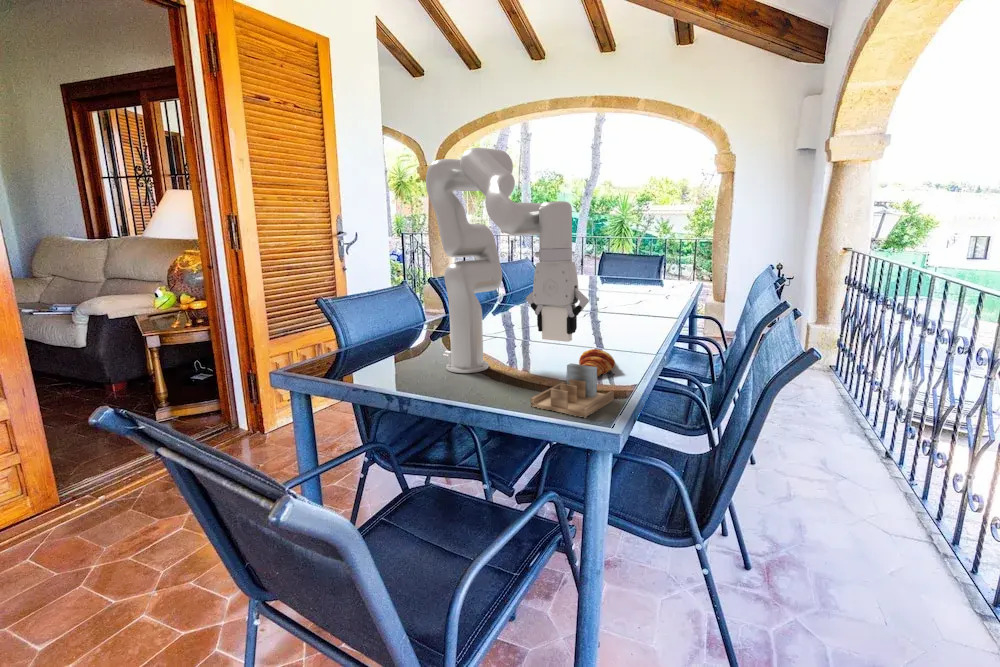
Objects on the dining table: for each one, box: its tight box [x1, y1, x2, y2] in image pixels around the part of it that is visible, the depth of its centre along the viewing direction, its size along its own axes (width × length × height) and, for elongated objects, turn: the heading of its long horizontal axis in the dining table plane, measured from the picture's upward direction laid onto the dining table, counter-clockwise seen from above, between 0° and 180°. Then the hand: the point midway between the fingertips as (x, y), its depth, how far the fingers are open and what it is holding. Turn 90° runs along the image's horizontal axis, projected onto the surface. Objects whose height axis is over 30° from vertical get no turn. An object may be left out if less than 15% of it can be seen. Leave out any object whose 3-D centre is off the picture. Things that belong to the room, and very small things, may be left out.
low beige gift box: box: [541, 306, 573, 343], centre depth 124 cm, size 7×2×8 cm, turn 56°
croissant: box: [578, 348, 616, 377], centre depth 151 cm, size 21×10×8 cm, turn 153°
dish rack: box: [530, 362, 615, 418], centre depth 123 cm, size 14×15×8 cm
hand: (556, 331), depth 125 cm, fingers closed on low beige gift box, 7 cm apart
